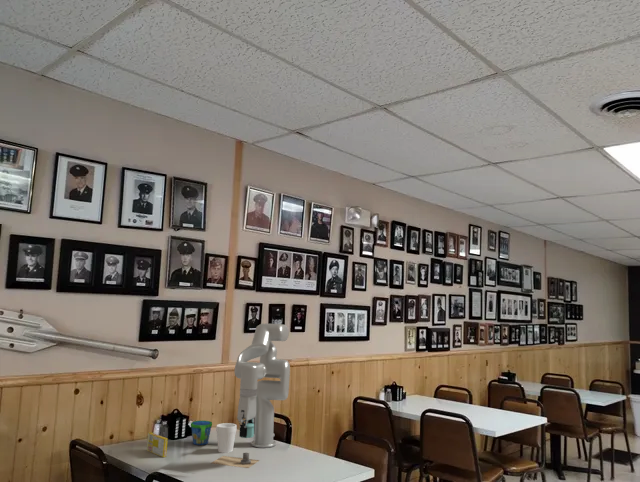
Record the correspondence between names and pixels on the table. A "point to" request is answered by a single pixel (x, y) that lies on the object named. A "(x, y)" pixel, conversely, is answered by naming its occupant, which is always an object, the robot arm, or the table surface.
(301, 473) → the table surface
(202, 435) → the snack cup
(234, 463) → the board
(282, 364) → the robot arm
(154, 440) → the candy box
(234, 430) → the foam cup
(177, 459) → the table surface
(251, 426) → the cap
